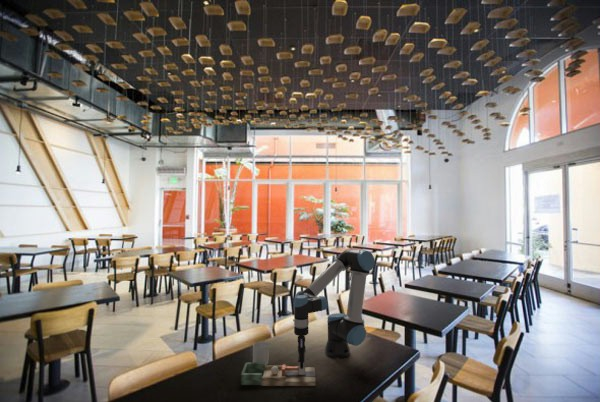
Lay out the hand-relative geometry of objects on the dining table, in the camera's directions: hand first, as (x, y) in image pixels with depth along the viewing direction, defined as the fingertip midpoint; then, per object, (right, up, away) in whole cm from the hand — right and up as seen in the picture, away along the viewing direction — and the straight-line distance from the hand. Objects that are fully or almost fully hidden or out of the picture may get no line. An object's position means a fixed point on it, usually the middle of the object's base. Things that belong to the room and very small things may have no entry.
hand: (301, 371), depth 152 cm
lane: (-12, -3, 0) cm, 12 cm away
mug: (-24, -5, +16) cm, 29 cm away
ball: (-14, +1, 0) cm, 14 cm away
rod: (-4, -1, 0) cm, 4 cm away
